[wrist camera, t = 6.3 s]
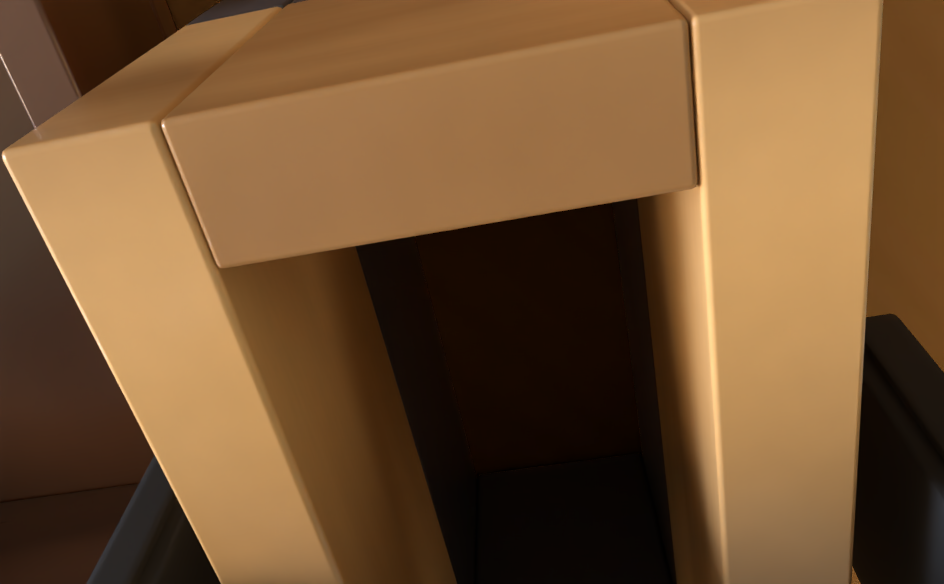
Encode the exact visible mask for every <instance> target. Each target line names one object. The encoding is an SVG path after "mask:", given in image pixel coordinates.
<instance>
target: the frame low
mask: <svg viewBox="0 0 944 584" xmlns="http://www.w3.org/2000/svg"><path fill="white" fill-rule="evenodd" d="M302 1H306V0H222V1H220V2H219V3H218V4H216V5H215V6H213V7H212V8H210V9H209V10H207V11H206V12H204V13H203V14H201V15H200V16H198V17H197V18H196V19H194V20H193V21H191V22H190V23H188V24H187V25H191V24H196V23H201V22H206V21H210V20H215V19H220V18H225V17H230V16H235V15H239V14H244V13H249V12H254V11H259V10H263V9H268V8H273V7H280V8H282V9H283V8H284V7H285V6H287V5H288V4H292V3H297V2H302ZM612 208H613V216H614V224H615V233H616V241H617V249H618V258H619V266H620V274H621V283H622V291H623V299H624V307H625V316H626V324H627V332H628V341H629V349H630V357H631V366H632V374H633V382H634V391H635V399H636V407H637V416H638V424H639V432H640V441H641V449H642V456H641V455H640V454H638V453H636V454H629V455H621V456H614V457H606V458H599V459H591V460H584V461H576V462H569V463H561V464H554V465H546V466H539V467H532V468H524V469H517V470H509V471H502V472H494V473H487V474H480V475H478V477H477V476H476V473H475V469H474V465H473V461H472V457H471V453H470V449H469V445H468V442H467V438H466V434H465V430H464V426H463V422H462V418H461V415H460V411H459V407H458V403H457V399H456V395H455V391H454V388H453V384H452V380H451V376H450V372H449V368H448V364H447V361H446V357H445V353H444V349H443V345H442V341H441V337H440V334H439V330H438V326H437V322H436V318H435V314H434V310H433V307H432V303H431V299H430V295H429V291H428V287H427V283H426V280H425V276H424V272H423V268H422V264H421V260H420V256H419V253H418V249H417V245H416V241H415V237H414V236H412V237H406V238H400V239H394V240H388V241H382V242H377V243H371V244H365V245H359V246H355V247H356V250H357V253H358V257H359V260H360V263H361V267H362V270H363V273H364V277H365V280H366V283H367V286H368V290H369V293H370V296H371V300H372V303H373V306H374V310H375V313H376V316H377V320H378V323H379V326H380V330H381V333H382V336H383V339H384V343H385V346H386V349H387V353H388V356H389V359H390V363H391V366H392V369H393V373H394V376H395V379H396V383H397V386H398V389H399V393H400V396H401V399H402V402H403V406H404V409H405V412H406V416H407V419H408V422H409V426H410V429H411V432H412V436H413V439H414V442H415V446H416V449H417V452H418V456H419V459H420V462H421V465H422V469H423V472H424V475H425V479H426V482H427V485H428V489H429V492H430V495H431V499H432V502H433V505H434V509H435V512H436V515H437V518H438V522H439V525H440V528H441V532H442V535H443V538H444V542H445V545H446V548H447V552H448V555H449V558H450V562H451V565H452V568H453V572H454V575H455V578H456V581H457V584H677V581H676V571H675V561H674V551H673V542H672V532H671V522H670V513H669V503H668V493H667V483H666V474H665V464H664V454H663V445H662V435H661V425H660V415H659V406H658V396H657V386H656V376H655V367H654V357H653V347H652V338H651V328H650V318H649V308H648V299H647V289H646V279H645V270H644V260H643V250H642V240H641V231H640V221H639V211H638V201H637V198H636V199H630V200H624V201H618V202H612Z"/></svg>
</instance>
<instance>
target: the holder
mask: <svg viewBox="0 0 944 584" xmlns="http://www.w3.org/2000/svg"><path fill="white" fill-rule="evenodd" d="M176 32H177V29H176V27H175V24H174V21H173V19H172V16H171V13H170V11H169V8H168V5H167V2H166V0H0V584H86V583H87V581H88V580H89V578H90V576H91V574H92V572H93V570H94V568H95V566H96V564H97V563H98V561H99V559H100V557H101V555H102V553H103V551H104V549H105V547H106V546H107V544H108V542H109V540H110V538H111V536H112V534H113V532H114V530H115V529H116V527H117V525H118V523H119V521H120V519H121V517H122V515H123V513H124V512H125V510H126V508H127V506H128V504H129V502H130V500H131V498H132V496H133V495H134V493H135V491H136V489H137V487H138V485H139V483H140V481H141V479H142V478H143V476H144V474H145V472H146V470H147V468H148V466H149V464H150V462H151V461H152V459H153V457H154V453H153V451H152V449H151V447H150V445H149V443H148V441H147V439H146V437H145V435H144V433H143V431H142V429H141V427H140V425H139V423H138V422H137V420H136V418H135V416H134V414H133V412H132V410H131V408H130V406H129V404H128V402H127V400H126V398H125V396H124V394H123V392H122V391H121V389H120V387H119V385H118V383H117V381H116V379H115V377H114V375H113V373H112V371H111V369H110V367H109V365H108V363H107V361H106V359H105V358H104V356H103V354H102V352H101V350H100V348H99V346H98V344H97V342H96V340H95V338H94V336H93V334H92V332H91V330H90V328H89V326H88V325H87V323H86V321H85V319H84V317H83V315H82V313H81V311H80V309H79V307H78V305H77V303H76V301H75V299H74V297H73V295H72V294H71V292H70V290H69V288H68V286H67V284H66V282H65V280H64V278H63V276H62V274H61V272H60V270H59V268H58V266H57V264H56V262H55V261H54V259H53V257H52V255H51V253H50V251H49V249H48V247H47V245H46V243H45V241H44V239H43V237H42V235H41V233H40V231H39V229H38V228H37V226H36V224H35V222H34V220H33V218H32V216H31V214H30V212H29V210H28V208H27V206H26V204H25V202H24V200H23V198H22V196H21V195H20V193H19V191H18V189H17V187H16V185H15V183H14V181H13V179H12V177H11V175H10V173H9V171H8V169H7V167H6V165H5V164H4V162H3V159H2V152H3V151H4V150H5V149H6V148H7V147H9V146H10V145H12V144H13V143H15V142H16V141H18V140H19V139H21V138H22V137H24V136H25V135H26V134H28V133H29V132H31V131H32V130H34V129H35V128H37V127H38V126H40V125H41V124H43V123H44V122H45V121H47V120H48V119H50V118H51V117H53V116H54V115H56V114H57V113H59V112H60V111H62V110H63V109H65V108H66V107H67V106H69V105H70V104H72V103H73V102H75V101H76V100H78V99H79V98H81V97H82V96H84V95H85V94H86V93H88V92H89V91H91V90H92V89H94V88H95V87H97V86H98V85H100V84H101V83H103V82H104V81H105V80H107V79H108V78H110V77H111V76H113V75H114V74H116V73H117V72H119V71H120V70H122V69H123V68H125V67H126V66H127V65H129V64H130V63H132V62H133V61H135V60H136V59H138V58H139V57H141V56H142V55H144V54H145V53H146V52H148V51H149V50H151V49H152V48H154V47H155V46H157V45H158V44H160V43H161V42H163V41H164V40H166V39H167V38H168V37H170V36H171V35H173V34H174V33H176Z"/></svg>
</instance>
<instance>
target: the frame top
mask: <svg viewBox="0 0 944 584" xmlns="http://www.w3.org/2000/svg"><path fill="white" fill-rule="evenodd" d="M882 15H883V0H306V1H302V2H297V3H292V4H288V5H287V6H285V7H284V8H283V9H282V8H280V7H273V8H268V9H263V10H259V11H254V12H249V13H244V14H239V15H235V16H230V17H225V18H220V19H215V20H210V21H206V22H201V23H196V24H191V25H186V26H185V27H183V28H182V29H180V30H179V31H177V32H176V33H174V34H173V35H171V36H170V37H168V38H167V39H166V40H164V41H163V42H161V43H160V44H158V45H157V46H155V47H154V48H152V49H151V50H149V51H148V52H146V53H145V54H144V55H142V56H141V57H139V58H138V59H136V60H135V61H133V62H132V63H130V64H129V65H127V66H126V67H125V68H123V69H122V70H120V71H119V72H117V73H116V74H114V75H113V76H111V77H110V78H108V79H107V80H105V81H104V82H103V83H101V84H100V85H98V86H97V87H95V88H94V89H92V90H91V91H89V92H88V93H86V94H85V95H84V96H82V97H81V98H79V99H78V100H76V101H75V102H73V103H72V104H70V105H69V106H67V107H66V108H65V109H63V110H62V111H60V112H59V113H57V114H56V115H54V116H53V117H51V118H50V119H48V120H47V121H45V122H44V123H43V124H41V125H40V126H38V127H37V128H35V129H34V130H32V131H31V132H29V133H28V134H26V135H25V136H24V137H22V138H21V139H19V140H18V141H16V142H15V143H13V144H12V145H10V146H9V147H7V148H6V149H5V150H4V151H3V152H2V159H3V162H4V164H5V165H6V167H7V169H8V171H9V173H10V175H11V177H12V179H13V181H14V183H15V185H16V187H17V189H18V191H19V193H20V195H21V196H22V198H23V200H24V202H25V204H26V206H27V208H28V210H29V212H30V214H31V216H32V218H33V220H34V222H35V224H36V226H37V228H38V229H39V231H40V233H41V235H42V237H43V239H44V241H45V243H46V245H47V247H48V249H49V251H50V253H51V255H52V257H53V259H54V261H55V262H56V264H57V266H58V268H59V270H60V272H61V274H62V276H63V278H64V280H65V282H66V284H67V286H68V288H69V290H70V292H71V294H72V295H73V297H74V299H75V301H76V303H77V305H78V307H79V309H80V311H81V313H82V315H83V317H84V319H85V321H86V323H87V325H88V326H89V328H90V330H91V332H92V334H93V336H94V338H95V340H96V342H97V344H98V346H99V348H100V350H101V352H102V354H103V356H104V358H105V359H106V361H107V363H108V365H109V367H110V369H111V371H112V373H113V375H114V377H115V379H116V381H117V383H118V385H119V387H120V389H121V391H122V392H123V394H124V396H125V398H126V400H127V402H128V404H129V406H130V408H131V410H132V412H133V414H134V416H135V418H136V420H137V422H138V423H139V425H140V427H141V429H142V431H143V433H144V435H145V437H146V439H147V441H148V443H149V445H150V447H151V449H152V451H153V453H154V455H155V456H156V458H157V460H158V462H159V464H160V466H161V468H162V470H163V472H164V474H165V476H166V478H167V480H168V482H169V484H170V486H171V488H172V489H173V491H174V493H175V495H176V497H177V499H178V501H179V503H180V505H181V507H182V509H183V511H184V513H185V515H186V517H187V519H188V521H189V522H190V524H191V526H192V528H193V530H194V532H195V534H196V536H197V538H198V540H199V542H200V544H201V546H202V548H203V550H204V552H205V553H206V555H207V557H208V559H209V561H210V563H211V565H212V567H213V569H214V571H215V573H216V575H217V577H218V579H219V581H220V583H221V584H457V581H456V578H455V575H454V572H453V568H452V565H451V562H450V558H449V555H448V552H447V548H446V545H445V542H444V538H443V535H442V532H441V528H440V525H439V522H438V518H437V515H436V512H435V509H434V505H433V502H432V499H431V495H430V492H429V489H428V485H427V482H426V479H425V475H424V472H423V469H422V465H421V462H420V459H419V456H418V452H417V449H416V446H415V442H414V439H413V436H412V432H411V429H410V426H409V422H408V419H407V416H406V412H405V409H404V406H403V402H402V399H401V396H400V393H399V389H398V386H397V383H396V379H395V376H394V373H393V369H392V366H391V363H390V359H389V356H388V353H387V349H386V346H385V343H384V339H383V336H382V333H381V330H380V326H379V323H378V320H377V316H376V313H375V310H374V306H373V303H372V300H371V296H370V293H369V290H368V286H367V283H366V280H365V277H364V273H363V270H362V267H361V263H360V260H359V257H358V253H357V250H356V247H355V246H359V245H365V244H371V243H377V242H382V241H388V240H394V239H400V238H406V237H412V236H418V235H424V234H430V233H435V232H441V231H447V230H453V229H459V228H465V227H471V226H477V225H483V224H488V223H494V222H500V221H506V220H512V219H518V218H524V217H530V216H536V215H541V214H547V213H553V212H559V211H565V210H571V209H577V208H583V207H589V206H594V205H600V204H606V203H612V202H618V201H624V200H630V199H636V198H637V201H638V211H639V221H640V231H641V240H642V250H643V260H644V270H645V279H646V289H647V299H648V308H649V318H650V328H651V338H652V347H653V357H654V367H655V376H656V386H657V396H658V406H659V415H660V425H661V435H662V445H663V454H664V464H665V474H666V483H667V493H668V503H669V513H670V522H671V532H672V542H673V551H674V561H675V571H676V581H677V584H851V579H852V560H853V542H854V524H855V506H856V488H857V469H858V451H859V433H860V415H861V397H862V379H863V360H864V342H865V324H866V306H867V288H868V270H869V251H870V233H871V215H872V197H873V179H874V160H875V142H876V124H877V106H878V88H879V70H880V51H881V33H882Z"/></svg>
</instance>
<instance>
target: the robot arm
mask: <svg viewBox="0 0 944 584" xmlns="http://www.w3.org/2000/svg"><path fill="white" fill-rule="evenodd" d="M852 566H853V568H854V571H855V573H856V575H857V577H858V579H859V581H860V583H861V584H944V373H943V371H942V370H941V369H940V368H939V366H938V365H937V364H936V363H935V362H934V360H933V359H932V358H931V357H930V355H929V354H928V353H927V352H926V351H925V349H924V348H923V347H922V346H921V344H920V343H919V342H918V341H917V340H916V338H915V337H914V336H913V335H912V333H911V332H910V331H909V330H908V328H907V327H906V326H905V325H904V324H903V322H902V321H901V320H900V319H899V318H898V317H897V316H896V315H894V314H886V315H879V316H872V317H866V324H865V342H864V360H863V379H862V397H861V415H860V433H859V451H858V469H857V488H856V506H855V524H854V542H853V560H852ZM86 584H221V583H220V581H219V579H218V577H217V575H216V573H215V571H214V569H213V567H212V565H211V563H210V561H209V559H208V557H207V555H206V553H205V552H204V550H203V548H202V546H201V544H200V542H199V540H198V538H197V536H196V534H195V532H194V530H193V528H192V526H191V524H190V522H189V521H188V519H187V517H186V515H185V513H184V511H183V509H182V507H181V505H180V503H179V501H178V499H177V497H176V495H175V493H174V491H173V489H172V488H171V486H170V484H169V482H168V480H167V478H166V476H165V474H164V472H163V470H162V468H161V466H160V464H159V462H158V460H157V458H156V456H155V455H154V457H153V459H152V461H151V462H150V464H149V466H148V468H147V470H146V472H145V474H144V476H143V478H142V479H141V481H140V483H139V485H138V487H137V489H136V491H135V493H134V495H133V496H132V498H131V500H130V502H129V504H128V506H127V508H126V510H125V512H124V513H123V515H122V517H121V519H120V521H119V523H118V525H117V527H116V529H115V530H114V532H113V534H112V536H111V538H110V540H109V542H108V544H107V546H106V547H105V549H104V551H103V553H102V555H101V557H100V559H99V561H98V563H97V564H96V566H95V568H94V570H93V572H92V574H91V576H90V578H89V580H88V581H87V583H86Z"/></svg>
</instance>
